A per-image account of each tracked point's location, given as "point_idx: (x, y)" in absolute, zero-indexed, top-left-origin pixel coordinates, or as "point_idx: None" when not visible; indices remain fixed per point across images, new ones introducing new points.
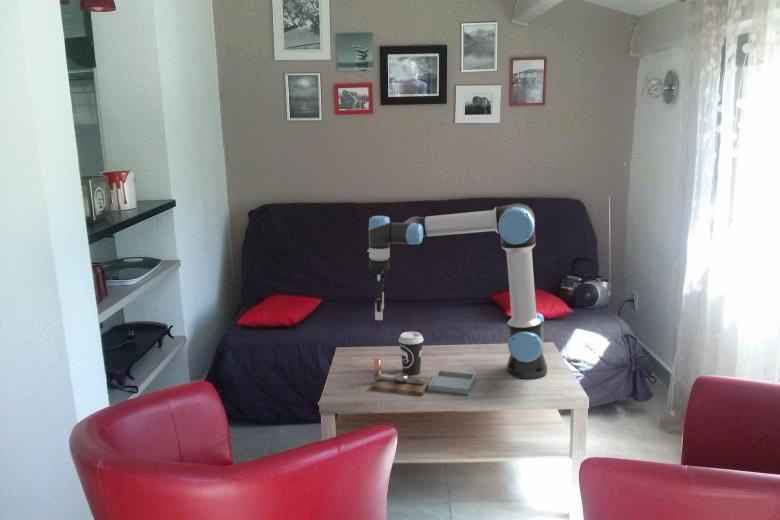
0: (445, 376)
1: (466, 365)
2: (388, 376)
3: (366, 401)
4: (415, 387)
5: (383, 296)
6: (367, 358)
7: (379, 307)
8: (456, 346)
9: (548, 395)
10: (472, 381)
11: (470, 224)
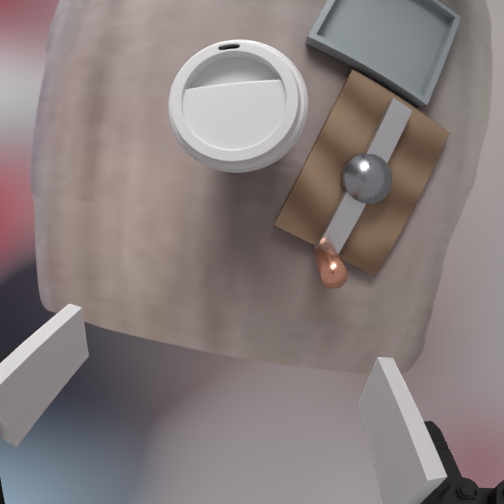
0: (328, 25)
1: None
2: (348, 220)
3: (431, 290)
4: (416, 142)
5: (14, 373)
6: (111, 255)
7: (445, 460)
8: None
9: None
10: None
11: None
